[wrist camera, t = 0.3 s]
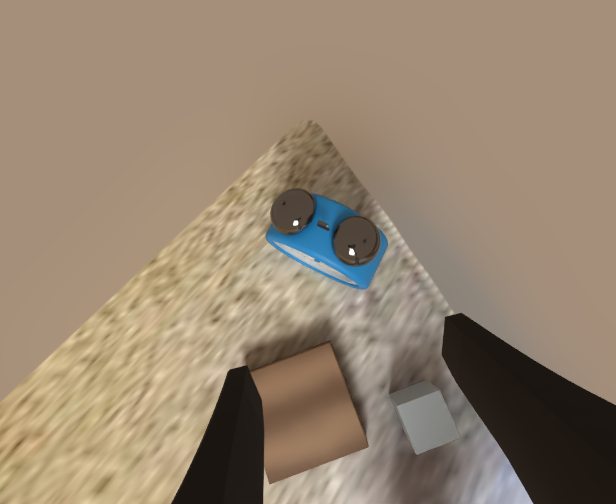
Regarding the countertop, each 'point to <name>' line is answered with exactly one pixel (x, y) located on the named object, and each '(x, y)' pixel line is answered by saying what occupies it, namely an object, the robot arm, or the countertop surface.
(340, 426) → the walnut base
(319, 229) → the alarm clock
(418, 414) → the slate cube
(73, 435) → the countertop surface
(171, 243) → the countertop surface
